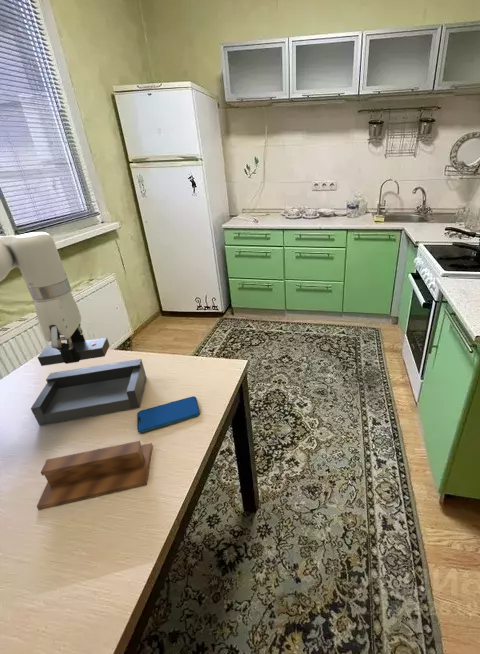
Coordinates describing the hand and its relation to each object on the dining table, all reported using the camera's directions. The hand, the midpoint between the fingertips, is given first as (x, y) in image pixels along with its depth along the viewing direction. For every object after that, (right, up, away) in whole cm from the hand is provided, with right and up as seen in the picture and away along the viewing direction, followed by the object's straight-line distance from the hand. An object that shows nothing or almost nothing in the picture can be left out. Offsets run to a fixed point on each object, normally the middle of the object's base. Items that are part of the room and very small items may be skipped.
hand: (76, 354), depth 81 cm
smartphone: (+22, -16, +4) cm, 28 cm away
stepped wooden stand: (+13, -24, -11) cm, 29 cm away
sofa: (0, -14, +10) cm, 17 cm away
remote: (0, 0, 0) cm, 0 cm away
